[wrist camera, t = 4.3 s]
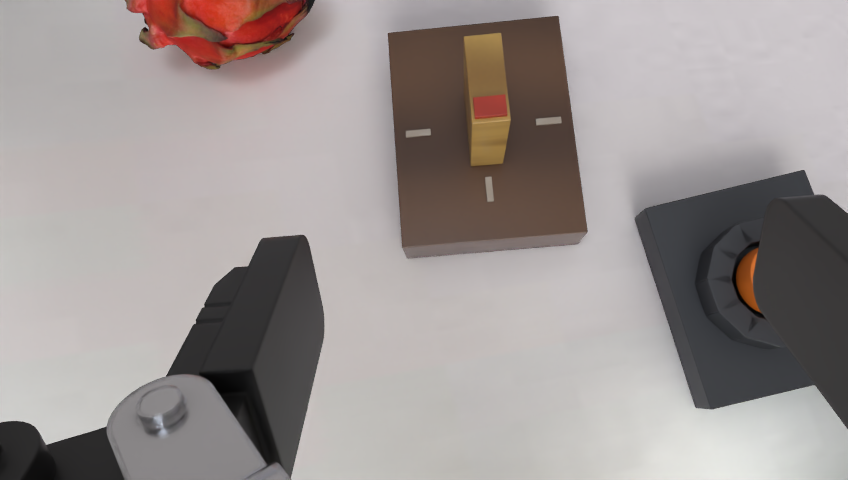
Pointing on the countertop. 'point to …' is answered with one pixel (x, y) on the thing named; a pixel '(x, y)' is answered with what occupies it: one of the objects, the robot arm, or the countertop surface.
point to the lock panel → (449, 149)
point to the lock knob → (486, 99)
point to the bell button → (747, 278)
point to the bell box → (719, 291)
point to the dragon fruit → (219, 26)
